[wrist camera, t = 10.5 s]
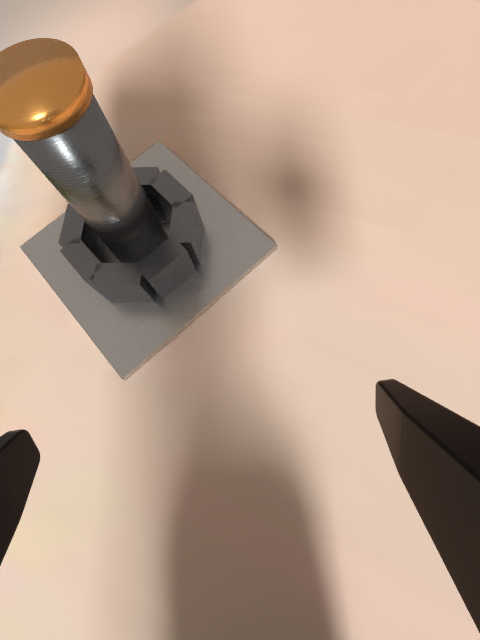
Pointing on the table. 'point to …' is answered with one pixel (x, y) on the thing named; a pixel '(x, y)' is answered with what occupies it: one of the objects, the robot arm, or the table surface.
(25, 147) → the copper capped metal cylinder
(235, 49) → the table surface
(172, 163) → the rosette collar
